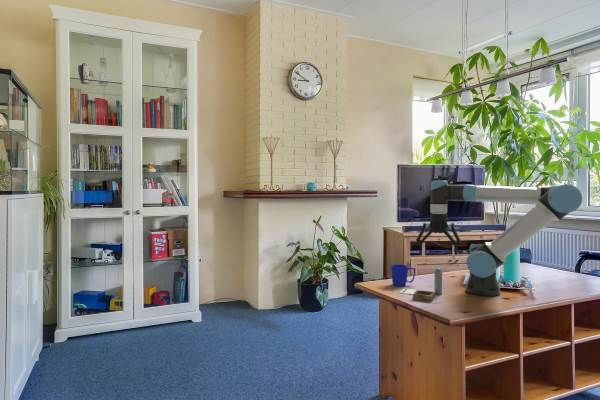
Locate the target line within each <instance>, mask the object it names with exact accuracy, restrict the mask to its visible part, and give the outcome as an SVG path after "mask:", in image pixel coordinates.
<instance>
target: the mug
mask: <svg viewBox="0 0 600 400" xmlns="http://www.w3.org/2000/svg"><path fill="white" fill-rule="evenodd" d="M390 268H391V269H390V270H391V280H392V281H391V282H392V285H394V286H395V287H396V286H397V287H404V286H406V285H407V283H409V284H411V283H413V281H414V280H415V276H416V268H414V267H409V266H408V265H405V264H392V265H391V267H390ZM409 270H413V276H412V280H408V272H409Z"/></svg>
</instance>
